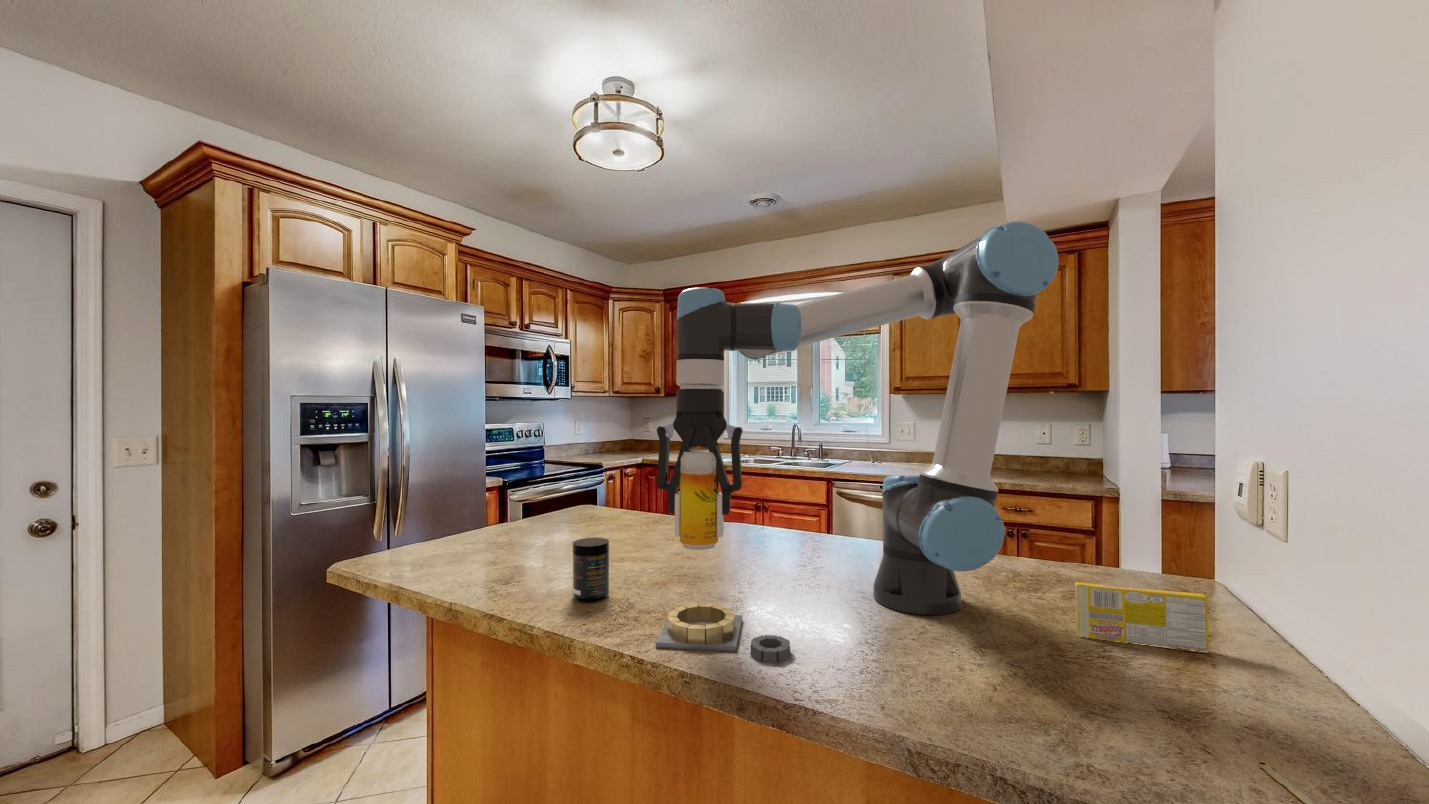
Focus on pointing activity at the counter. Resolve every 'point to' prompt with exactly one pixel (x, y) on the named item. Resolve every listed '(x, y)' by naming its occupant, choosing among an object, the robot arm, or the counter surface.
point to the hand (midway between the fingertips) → (699, 534)
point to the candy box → (1142, 616)
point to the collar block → (701, 628)
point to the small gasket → (770, 648)
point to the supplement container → (590, 569)
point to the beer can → (698, 500)
